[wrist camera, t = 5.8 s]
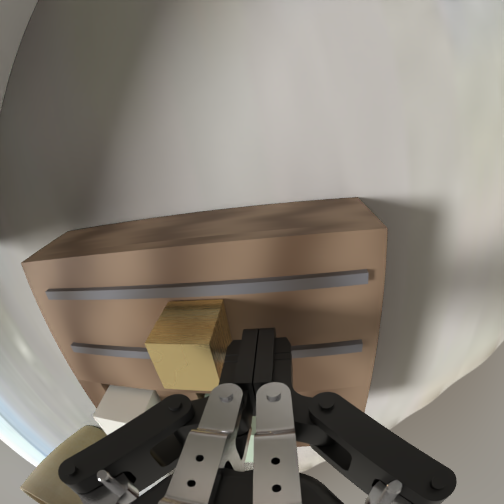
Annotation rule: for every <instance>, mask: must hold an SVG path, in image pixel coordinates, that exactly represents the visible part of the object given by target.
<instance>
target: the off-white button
mask: <svg viewBox="0 0 504 504" xmlns="http://www.w3.org/2000/svg"><path fill="white" fill-rule="evenodd" d="M160 401H161V399H160V397H159V395H158V393H157V392H156V390H149V389H139V388H131V387H123V386H115V385H109V387H108V389H107V391H106V393H105V394H104V396H103V398H102V400H101V402H100V403H99V405H98V407H97V409H96V411H95V413H94V414H93V417H94V419H95V420H96V421H97V423H98V424H99V425H100V427H101V428H102V429H103V430H104V432H105V433H106V434H107V435H109V434H110V433H112V432H113V431H115V430H117V429H118V428H120V427H122V426H123V425H125V424H126V423H128V422H129V421H131V420H133V419H134V418H136V417H137V416H139V415H140V414H142V413H144V412H145V411H147V410H148V409H150V408H151V407H153V406H154V405H156V404H157V403H159V402H160Z"/></svg>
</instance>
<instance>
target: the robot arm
mask: <svg viewBox="0 0 504 504" xmlns="http://www.w3.org/2000/svg"><path fill="white" fill-rule="evenodd" d="M252 416H256V434H254V457H253V470H249V471H245V460H246V455H247V451H248V446H249V441H250V437H251V432H252V427H251V424H252ZM296 441H298V442H303V443H307V444H310V446H311V448H312V449H314V450H315V451H316V452H317V453H318V454H319V455H320V456H321V457H323V458H324V459H325V460H326V461H327V462H328V463H330V464H331V465H332V466H333V467H334V468H335V469H337V470H338V471H339V472H340V473H341V474H343V475H344V476H345V477H346V478H347V479H349V480H350V481H351V482H352V483H354V484H355V485H356V486H357V487H359V488H360V489H361V490H363V491H364V492H365V493H366V494H368V497H367V498H366V500H365V504H441V503H442V502H443V501H444V500H445V499H446V498H447V497H448V496H449V495H451V494H452V492H453V491H454V489H455V487H456V476H455V474H454V472H453V471H452V470H451V469H449V468H448V467H446V466H444V465H443V464H441V463H439V462H438V461H436V460H435V459H433V458H431V457H430V456H428V455H427V454H425V453H423V452H422V451H420V450H419V449H417V448H416V447H414V446H412V445H411V444H409V443H408V442H406V441H405V440H403V439H402V438H400V437H399V436H397V435H396V434H394V433H393V432H391V431H390V430H388V429H387V428H385V427H384V426H382V425H381V424H380V423H378V422H377V421H375V420H374V419H372V418H371V417H369V416H368V415H367V414H365V413H364V412H362V411H361V410H359V409H358V408H357V407H355V406H354V405H352V404H351V403H350V402H348V401H347V400H345V399H344V398H343V397H341V396H340V395H338V394H336V393H333V392H322V393H319V394H317V395H315V396H314V397H307V396H303V395H300V394H299V393H297V392H296V391H295V390H294V389H293V366H292V353H291V343H290V342H289V340H288V339H287V338H286V337H279V338H276V330H275V327H271V328H260V329H259V328H255V329H243V333H242V339H241V340H233V341H232V342H231V343H230V344H229V346H228V347H227V351H226V356H225V359H224V363H223V368H222V372H221V376H220V381H219V385H218V386H216V387H215V388H214V389H213V390H212V391H211V393H210V395H209V396H207V397H205V398H201V399H196V400H192V401H191V400H190V399H189V398H188V397H187V396H185V395H183V394H173V395H170V396H168V397H166V398H165V399H163V400H162V401H160V402H159V403H157V404H156V405H154V406H153V407H151V408H150V409H148V410H147V411H145V412H144V413H142V414H140V415H139V416H137V417H136V418H134V419H133V420H131V421H129V422H128V423H126V424H125V425H123V426H122V427H120V428H118V429H117V430H115V431H113V432H112V433H110V434H109V435H107V436H105V437H104V438H102V439H100V440H99V441H97V442H95V443H94V444H92V445H90V446H88V447H87V448H85V449H83V450H82V451H80V452H78V453H76V454H75V455H73V456H71V457H69V458H68V459H66V460H64V461H63V462H62V463H61V464H60V466H59V469H58V475H59V478H60V480H61V481H62V482H63V483H65V484H66V485H67V486H68V487H70V488H71V489H72V490H73V491H74V492H75V493H76V494H78V496H79V497H80V499H81V501H82V502H83V504H344V503H343V502H341V500H339V499H338V498H337V497H336V496H335V495H334V494H333V493H332V492H331V491H330V490H329V489H328V488H327V487H326V486H325V485H324V484H322V483H321V482H319V481H318V480H317V479H315V478H313V477H311V476H308V475H306V474H302V473H299V467H298V456H297V446H296ZM174 468H175V471H174V473H173V474H171V475H170V476H168V477H166V478H165V479H163V480H162V481H161V482H159V483H158V484H157V485H155V486H154V487H152V488H151V489H150V490H148V491H147V492H145V493H144V494H142V495H141V496H139V492H140V491H142V490H143V489H145V488H146V487H148V486H149V485H151V484H152V483H154V482H155V481H157V480H158V479H160V478H161V477H163V476H164V475H166V474H167V473H169V472H170V471H171V470H173V469H174Z"/></svg>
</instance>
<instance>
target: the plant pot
mask: <svg viewBox="0 0 504 504" xmlns="http://www.w3.org/2000/svg"><path fill="white" fill-rule="evenodd" d="M105 436H107V434H106V433H105V432H104V430H102V429H99V428H97V427H94V426H84V427H83V428H81V429H80V430H78V431H77V432H76V433H74V434H73V435H71V436H70V437H69V438H68V439H66V440H65V441H64V442H63V443H61V444H60V445H59V446H58V447H57V448H56V449H54V450H53V451H52V452H51V453H50V454H49V455H48V456H47V457H46V458H45V459H44V460H43V461H42V462H41V463H40V464H39V465H38V466H37V467H36V469H35V470H34V471H33V472H32V473H31V474H30V476H29V477H28V478H27V479H26V481H25V482H24V483H23V485H22V486H21V487H20V489H21V490H22V491H23V492H25V493H26V494H27V495H28V496H30V497H31V498H32V499H34V500H35V501H37V502H38V503H40V504H83V502H82V501H81V499H80V497H79V496H78V494H76V493H75V492H74V491H73V490H72V489H71V488H70V487H68V486H67V485H66V484H65V483H63V482H62V481H61V480H60V478H59V475H58V469H59V466H60V464H61V463H62V462H63V461H64V460H66V459H68V458H69V457H71V456H73V455H75V454H76V453H78V452H80V451H82V450H83V449H85V448H87V447H88V446H90V445H92V444H94V443H95V442H97V441H99V440H100V439H102V438H104V437H105Z"/></svg>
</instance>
